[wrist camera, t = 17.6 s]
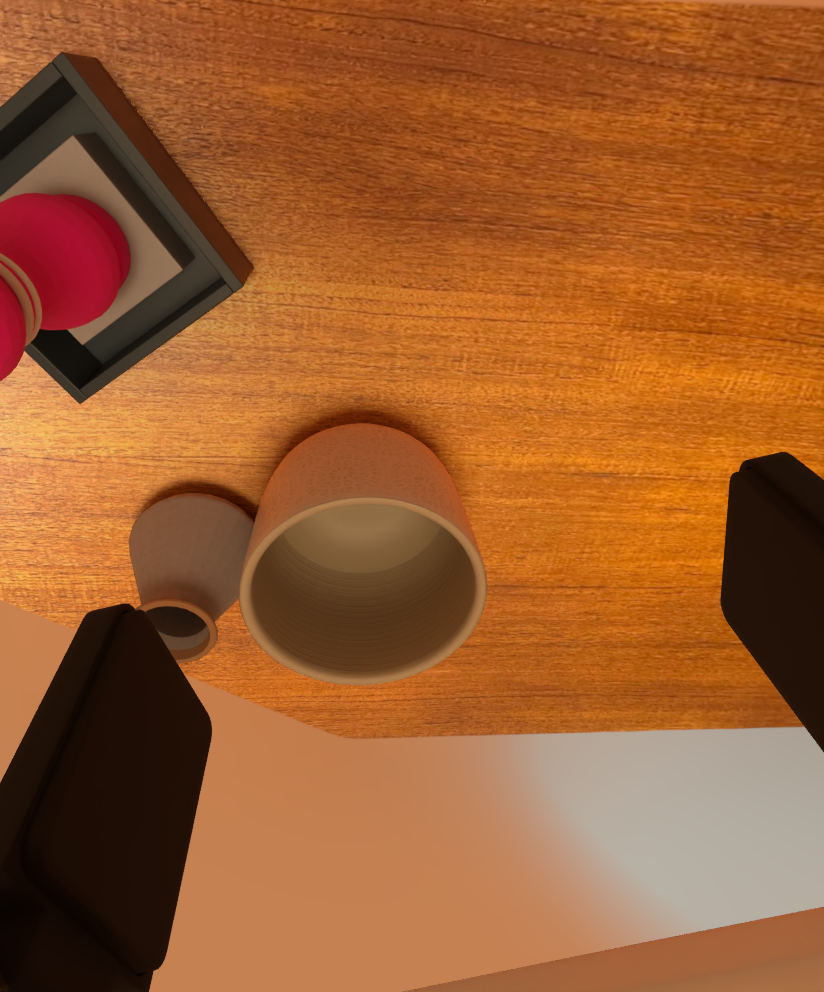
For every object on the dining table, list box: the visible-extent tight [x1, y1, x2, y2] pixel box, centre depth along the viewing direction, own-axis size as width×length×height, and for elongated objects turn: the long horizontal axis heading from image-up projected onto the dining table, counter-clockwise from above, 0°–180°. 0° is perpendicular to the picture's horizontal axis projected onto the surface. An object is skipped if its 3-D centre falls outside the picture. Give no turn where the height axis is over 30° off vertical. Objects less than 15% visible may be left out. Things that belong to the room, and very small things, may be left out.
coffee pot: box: [129, 493, 254, 664], centre depth 53 cm, size 21×12×15 cm, turn 163°
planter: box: [239, 423, 487, 685], centre depth 49 cm, size 17×17×15 cm
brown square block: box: [0, 133, 195, 345], centre depth 41 cm, size 9×9×4 cm
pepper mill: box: [0, 193, 131, 381], centre depth 31 cm, size 7×7×20 cm
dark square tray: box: [0, 52, 254, 404], centre depth 41 cm, size 15×15×6 cm
